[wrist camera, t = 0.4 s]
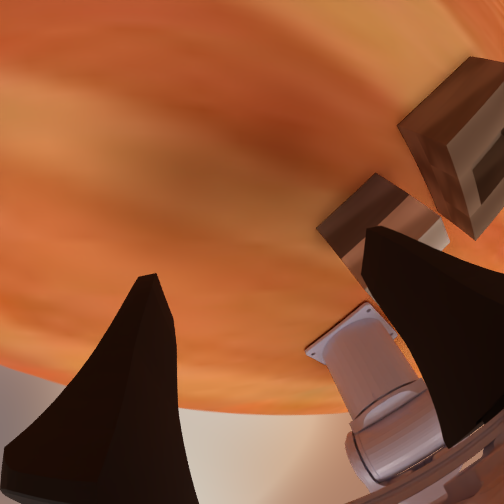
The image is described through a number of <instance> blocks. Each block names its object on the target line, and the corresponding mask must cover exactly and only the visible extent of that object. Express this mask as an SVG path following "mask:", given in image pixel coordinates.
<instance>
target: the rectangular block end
mask: <svg viewBox="0 0 504 504" xmlns="http://www.w3.org/2000/svg"><path fill="white" fill-rule="evenodd" d="M375 226H384V227H387V228H390V229H392V230H395V231H397V232H400V233H402V234H404V235H407V236H409V237H411V238H413V239H415V240H418V241H420V242H422V243H424V244H426V245H429V246H431V247H433V248H435V249H437V250H440V251H442V250H443V249H444V248H445V247H446V246H447V245H448V244H449V243H450V241H449V238H448V235H447V232H446V229H445V227H444V224H443V221H442V219H441V217H440V216H439V215H438V214H436V213H435V212H433V211H432V210H431V209H429V208H428V207H426V206H425V205H424V204H422V203H421V202H419V201H418V200H416V199H415V198H414V197H412V196H411V195H409V194H408V193H406V192H405V191H403V190H402V189H400V188H399V187H397V186H396V185H394V184H392V183H391V182H389V181H388V180H386V179H385V178H383V177H381V176H380V175H378V174H377V173H375V174H374V175H373V176H372V177H371V178H370V179H369V180H367V181H366V182H365V183H364V184H363V185H362V186H361V187H360V188H359V189H358V190H357V191H356V192H355V193H354V194H353V195H351V196H350V197H349V198H348V199H347V200H346V201H345V202H344V203H343V204H342V205H341V206H340V207H339V208H337V209H336V210H335V211H334V212H333V213H332V214H331V215H330V216H329V217H328V218H327V219H326V220H324V221H323V222H322V223H321V224H320V225H319V226H318V227H317V228H316V229H317V230H318V231H319V232H320V234H321V235H322V236H323V237H324V239H325V240H326V241H327V242H328V244H329V245H330V246H331V247H332V248H333V250H334V251H335V252H336V254H337V255H338V256H339V257H340V259H341V260H342V261H343V262H344V264H345V265H346V266H347V267H348V269H349V270H350V271H351V273H352V274H353V275H354V277H355V278H356V279H357V280H358V282H359V283H360V284H361V286H362V287H363V288H364V290H365V291H366V292H367V293H368V294H369V295H370V296H371V297H372V298H373V296H372V295H371V293H370V291H369V289H368V287H367V286H366V284H365V282H364V280H363V278H362V276H361V269H362V261H363V254H364V245H365V236H366V228H371V227H375ZM373 300H374V301H375V299H374V298H373ZM375 302H376V301H375ZM376 303H377V302H376Z"/></svg>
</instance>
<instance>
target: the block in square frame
mask: <svg viewBox="0 0 504 504" xmlns="http://www.w3.org/2000/svg"><path fill="white" fill-rule="evenodd" d="M397 126H398V128H399V130H400V132H401V134H402V136H403V137H404V139H405V141H406V143H407V145H408V147H409V149H410V151H411V153H412V155H413V157H414V159H415V161H416V163H417V165H418V167H419V169H420V171H421V173H422V175H423V177H424V180H425V182H426V184H427V186H428V189H429V191H430V193H431V195H432V198H433V200H434V203H435V205H436V207H437V210H438V212H439V213H440V214H441V215H443V216H444V217H445V218H447V219H448V220H449V221H451V222H452V223H453V224H455V225H456V226H457V227H459V228H460V229H461V230H463V231H464V232H465V233H466V234H468V235H469V236H470V237H471V238H473V239H474V240H475V241H476V240H477V238H478V237H479V236H480V235H481V234H482V233H483V232H484V230H485V229H486V228H487V227H488V226H489V224H490V223H491V222H492V221H493V220H494V218H495V217H496V216H497V215H498V213H499V212H500V211H501V210H502V208H503V207H504V63H503V62H498V61H493V60H488V59H483V58H477V57H471V56H470V57H469V58H468V59H467V60H466V61H465V62H464V63H463V64H462V65H461V66H460V67H459V68H458V69H457V70H456V71H455V72H453V73H452V74H451V75H450V76H449V77H448V78H447V79H446V80H445V81H444V82H443V83H442V84H441V85H440V86H439V87H438V88H437V89H435V90H434V91H433V92H432V93H431V94H430V95H429V96H428V97H427V98H426V99H425V100H424V101H423V102H422V103H421V104H420V105H418V106H417V107H416V108H415V109H414V110H413V111H412V112H411V113H410V114H409V115H408V116H407V117H406V118H405V119H404V120H402V121H401V122H400V123H399V124H398V125H397Z"/></svg>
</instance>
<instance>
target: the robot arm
mask: <svg viewBox="0 0 504 504" xmlns="http://www.w3.org/2000/svg"><path fill="white" fill-rule="evenodd" d="M361 276H362V278H363V280H364V282H365V284H366V286H367V287H368V289H369V291H370V293H371V295H372V296H373V298H374V299H375V301H376V302H377V304H378V305H379V306H380V308H381V309H382V311H383V312H384V313H385V315H386V316H387V318H388V319H389V320H390V322H391V323H392V324H393V326H394V327H395V329H396V330H397V332H398V333H399V334H400V336H401V337H402V339H403V340H404V342H405V343H406V345H407V347H408V348H409V350H410V352H411V354H412V356H413V358H414V360H415V362H416V364H417V366H418V368H419V370H420V372H421V374H422V377H423V379H424V381H425V382H424V381H423V379H422V378H418V376H417V375H416V373H415V372H414V370H413V369H412V367H411V366H410V364H409V362H408V361H407V359H406V358H405V356H404V355H403V353H402V352H401V350H400V349H399V348H398V346H397V345H396V343H395V342H394V339H395V338H396V337H397V335H398V334H397V333H396V331H395V330H394V329H393V328H392V327H391V326H390V325H389V324H388V323H387V322H386V321H385V319H384V318H383V317H382V316H381V315H380V314H379V313H378V312H377V311H376V310H375V309H374V308H373V307H372V305H371V304H370V303H368V302H365V303H363V304H362V305H361V306H360V307H359V308H357V309H356V310H355V311H354V312H353V313H351V314H350V315H349V316H348V317H346V318H345V319H344V320H343V321H342V322H340V323H339V324H338V325H337V326H335V327H334V328H333V329H332V330H330V331H329V332H328V333H326V334H325V335H324V336H323V337H321V338H320V339H319V340H317V341H316V342H315V343H313V344H312V345H311V346H309V347H308V348H307V349H306V350H305V353H306V355H308V356H309V357H311V358H313V359H315V360H317V361H319V362H321V363H323V364H325V365H327V367H328V369H329V371H330V373H331V375H332V378H333V380H334V382H335V384H336V386H337V388H338V390H339V392H340V394H341V396H342V399H343V401H344V403H345V405H346V407H347V409H348V411H349V413H350V415H351V417H352V419H353V421H351V422H350V423H349V424H350V426H351V429H352V431H351V432H349V433H348V434H347V438H346V441H345V448H346V452H347V455H348V458H349V460H350V463H351V465H352V467H353V469H354V471H355V473H356V474H357V476H358V477H359V479H360V480H361V481H362V482H363V483H364V484H365V485H366V487H367V488H368V490H369V491H370V494H368V495H366V496H363V497H361V498H359V499H356V500H353V501H351V502H348V503H346V504H398V503H399V504H504V274H503V273H499V272H495V271H492V270H489V269H486V268H483V267H480V266H477V265H474V264H471V263H469V262H466V261H463V260H461V259H458V258H456V257H454V256H451V255H449V254H447V253H444V252H442V251H440V250H437V249H435V248H433V247H431V246H429V245H426V244H424V243H422V242H420V241H418V240H415V239H413V238H411V237H409V236H407V235H404V234H402V233H400V232H397V231H395V230H392V229H390V228H387V227H384V226H375V227H371V228H366V236H365V245H364V254H363V261H362V269H361ZM425 383H426V384H425ZM483 424H485V425H484V426H482V425H483ZM481 426H482V428H480V429H479V430H477V429H478V428H479V427H481ZM475 430H477V431H476V432H475V433H473V432H474V431H475ZM472 433H473V434H472ZM470 434H472V435H471V436H470ZM443 446H444V447H443ZM440 448H441V449H440ZM483 448H484V450H483V456H482V457H481V458H480V459H478V460H477V461H475V462H474V463H473V464H471V465H470V466H468V467H467V468H465V469H464V470H462V471H461V472H459V471H460V469H461V467H462V465H463V464H464V463H465V462H466V461H468V460H469V459H470V458H472V457H473V456H474V455H476V454H477V453H478V452H480V450H482V449H483ZM439 449H440V450H439ZM437 450H439V451H437ZM436 451H437V452H436ZM434 452H436V453H434ZM433 453H434V454H433ZM431 454H432V455H431ZM430 455H431V456H430ZM428 456H429V457H428ZM426 457H428V458H426ZM425 458H426V459H425ZM423 459H425V460H423ZM421 460H423V461H421ZM420 461H421V462H420ZM418 462H420V463H418ZM2 463H3V464H2V471H1V484H0V490H1V491H2V493H3V494H4V495H5V496H7V497H9V498H11V499H13V500H15V501H17V502H19V503H21V504H199V502H198V499H197V495H196V492H195V489H194V485H193V481H192V478H191V474H190V470H189V465H188V461H187V456H186V452H185V447H184V442H183V437H182V432H181V425H180V419H179V411H178V393H177V344H176V336H175V328H174V320H173V316H172V314H171V311H170V309H169V306H168V303H167V301H166V298H165V296H164V293H163V290H162V287H161V285H160V282H159V279H158V276H157V274H156V273H154V274H150V275H145V276H140V277H138V279H137V280H136V282H135V283H134V285H133V287H132V288H131V290H130V292H129V294H128V295H127V297H126V299H125V301H124V302H123V304H122V306H121V308H120V309H119V311H118V313H117V315H116V316H115V318H114V320H113V321H112V323H111V325H110V327H109V328H108V330H107V331H106V333H105V334H104V336H103V338H102V339H101V341H100V342H99V344H98V346H97V347H96V349H95V350H94V352H93V353H92V354H91V356H90V357H89V359H88V360H87V361H86V363H85V364H84V365H83V367H82V368H81V369H80V371H79V372H78V373H77V375H76V376H75V377H74V378H73V380H72V381H71V382H70V383H69V384H68V385H67V387H66V388H65V389H64V390H63V391H62V393H61V394H60V395H59V396H58V397H57V398H56V400H55V401H54V402H53V403H52V404H51V405H50V406H49V407H48V408H47V409H46V410H45V411H44V412H43V413H42V414H41V415H40V416H39V418H37V419H36V420H35V421H34V422H33V423H32V424H31V425H30V426H29V427H28V428H27V429H25V430H24V431H23V432H22V433H21V434H20V435H19V436H17V437H16V438H15V439H14V440H13V441H11V442H10V443H9V444H8V445H7V446H5V448H4V454H3V462H2ZM417 463H418V464H417ZM415 464H417V465H415ZM413 465H415V466H413ZM411 466H413V467H411ZM410 467H411V468H410ZM408 468H410V469H408ZM406 469H408V470H406ZM405 470H406V471H405ZM403 471H404V472H403ZM401 472H402V473H401ZM399 473H400V474H399ZM397 474H398V475H397Z"/></svg>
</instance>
